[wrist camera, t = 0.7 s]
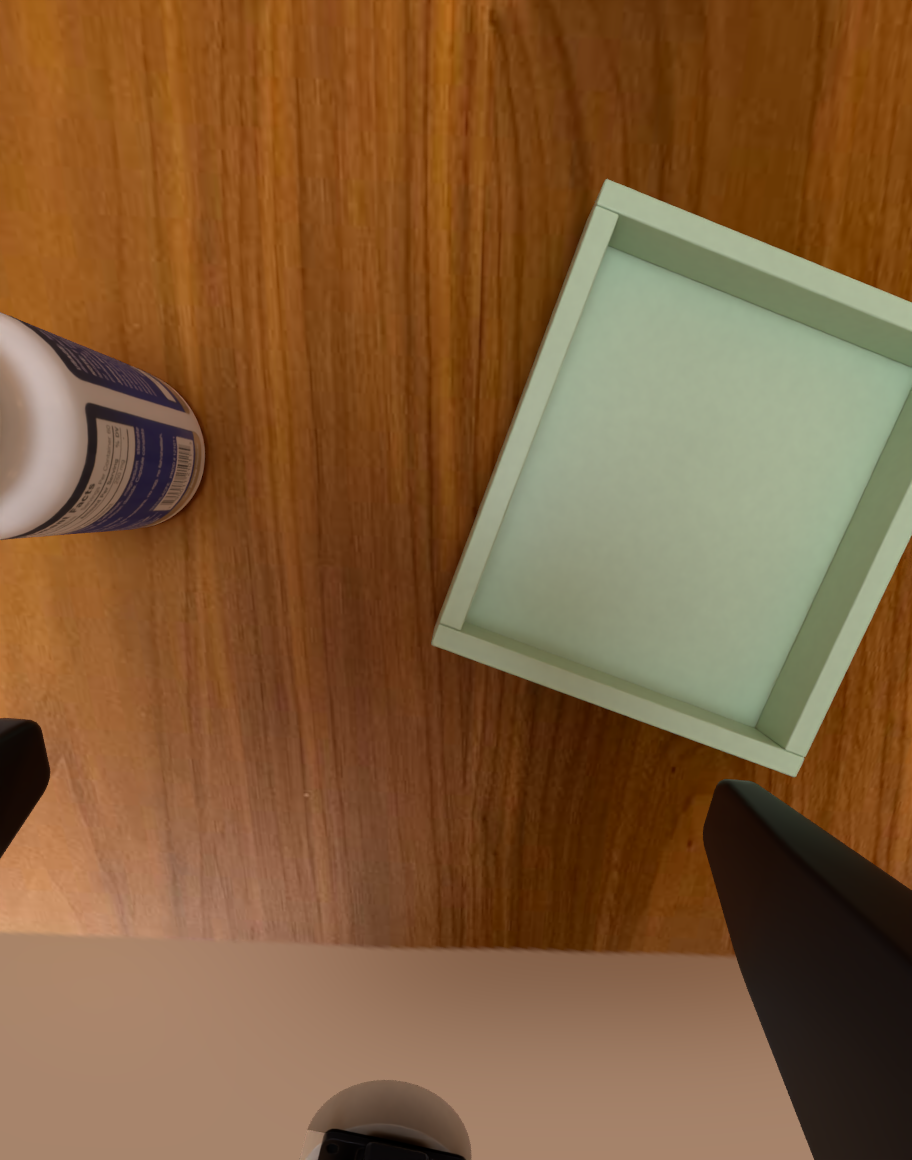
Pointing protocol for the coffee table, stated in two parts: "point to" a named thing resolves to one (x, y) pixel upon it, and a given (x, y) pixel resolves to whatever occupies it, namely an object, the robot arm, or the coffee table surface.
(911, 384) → the tray
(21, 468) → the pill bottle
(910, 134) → the coffee table surface
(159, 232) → the coffee table surface
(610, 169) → the coffee table surface
